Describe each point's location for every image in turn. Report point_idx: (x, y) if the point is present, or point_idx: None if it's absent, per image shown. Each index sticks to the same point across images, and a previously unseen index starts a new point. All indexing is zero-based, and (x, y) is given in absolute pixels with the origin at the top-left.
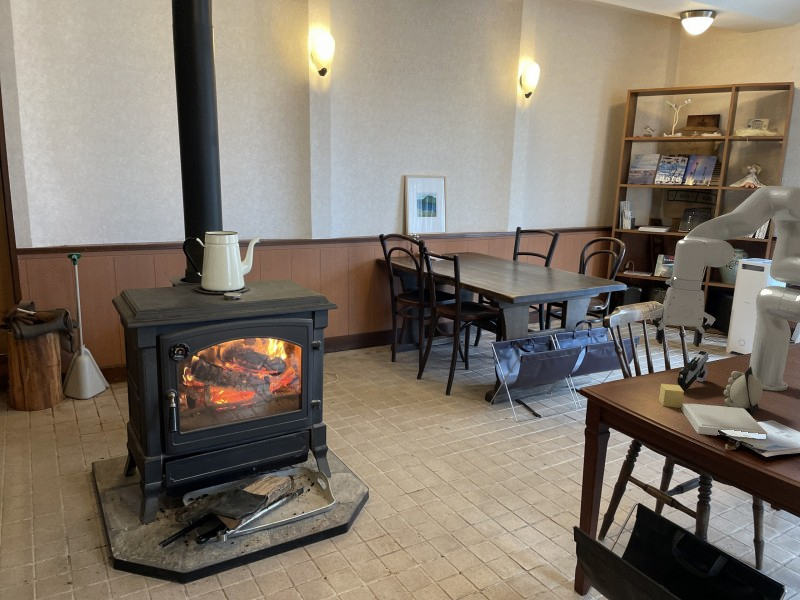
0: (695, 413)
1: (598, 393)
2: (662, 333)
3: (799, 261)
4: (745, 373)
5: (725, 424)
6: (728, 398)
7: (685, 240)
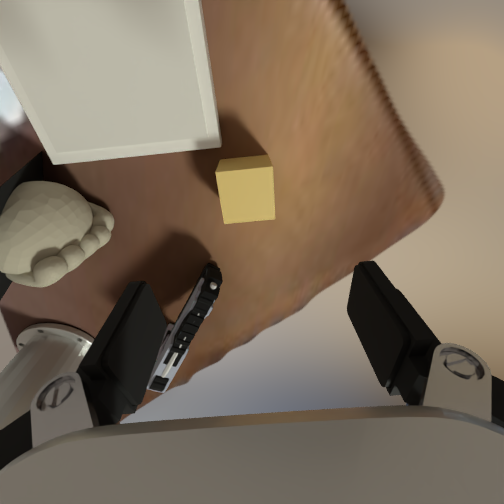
0: (184, 37)
1: (418, 190)
2: (404, 316)
3: None
4: None
5: None
6: (100, 219)
7: None
